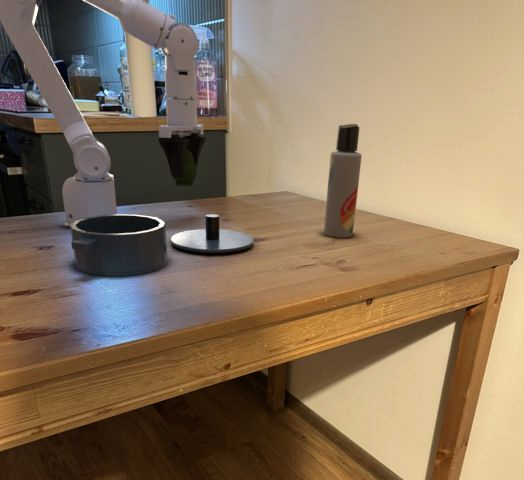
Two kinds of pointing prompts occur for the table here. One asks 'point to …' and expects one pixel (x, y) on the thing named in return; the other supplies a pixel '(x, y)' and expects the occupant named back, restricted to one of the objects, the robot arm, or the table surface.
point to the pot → (119, 244)
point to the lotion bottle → (343, 183)
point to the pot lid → (212, 238)
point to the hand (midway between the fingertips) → (183, 175)
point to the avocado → (187, 171)
